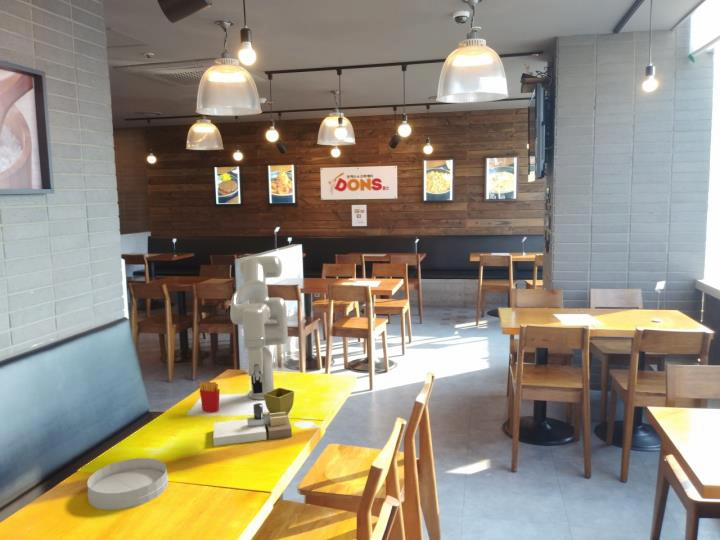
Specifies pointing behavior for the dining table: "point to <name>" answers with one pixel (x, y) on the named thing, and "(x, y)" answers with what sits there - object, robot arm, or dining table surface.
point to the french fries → (209, 396)
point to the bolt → (259, 417)
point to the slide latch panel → (251, 430)
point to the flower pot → (279, 400)
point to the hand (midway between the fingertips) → (257, 388)
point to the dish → (127, 483)
